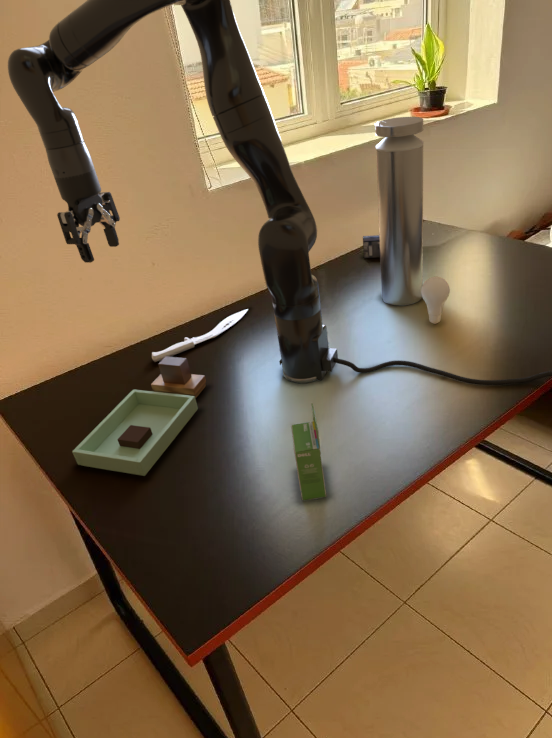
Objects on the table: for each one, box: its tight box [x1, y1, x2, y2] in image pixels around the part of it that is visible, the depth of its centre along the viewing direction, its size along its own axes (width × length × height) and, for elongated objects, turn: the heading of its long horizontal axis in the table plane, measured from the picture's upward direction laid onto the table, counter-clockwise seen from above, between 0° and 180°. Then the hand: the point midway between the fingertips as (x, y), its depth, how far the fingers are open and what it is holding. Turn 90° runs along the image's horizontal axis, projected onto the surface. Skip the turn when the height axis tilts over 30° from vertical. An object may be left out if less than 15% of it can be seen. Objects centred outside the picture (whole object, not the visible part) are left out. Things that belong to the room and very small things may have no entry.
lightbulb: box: [421, 276, 451, 325], centre depth 126 cm, size 6×6×11 cm
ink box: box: [290, 402, 327, 501], centre depth 87 cm, size 7×4×13 cm, turn 5°
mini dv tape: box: [362, 234, 380, 259], centre depth 165 cm, size 8×2×6 cm, turn 80°
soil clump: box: [117, 425, 152, 449], centre depth 105 cm, size 4×4×2 cm
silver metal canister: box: [374, 116, 425, 307], centre depth 131 cm, size 10×10×40 cm
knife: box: [151, 308, 249, 363], centre depth 138 cm, size 30×2×8 cm
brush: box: [150, 356, 207, 399], centre depth 116 cm, size 10×5×8 cm, turn 71°
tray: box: [71, 389, 199, 477], centre depth 106 cm, size 14×20×4 cm
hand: (102, 253), depth 116 cm, fingers open, 8 cm apart
